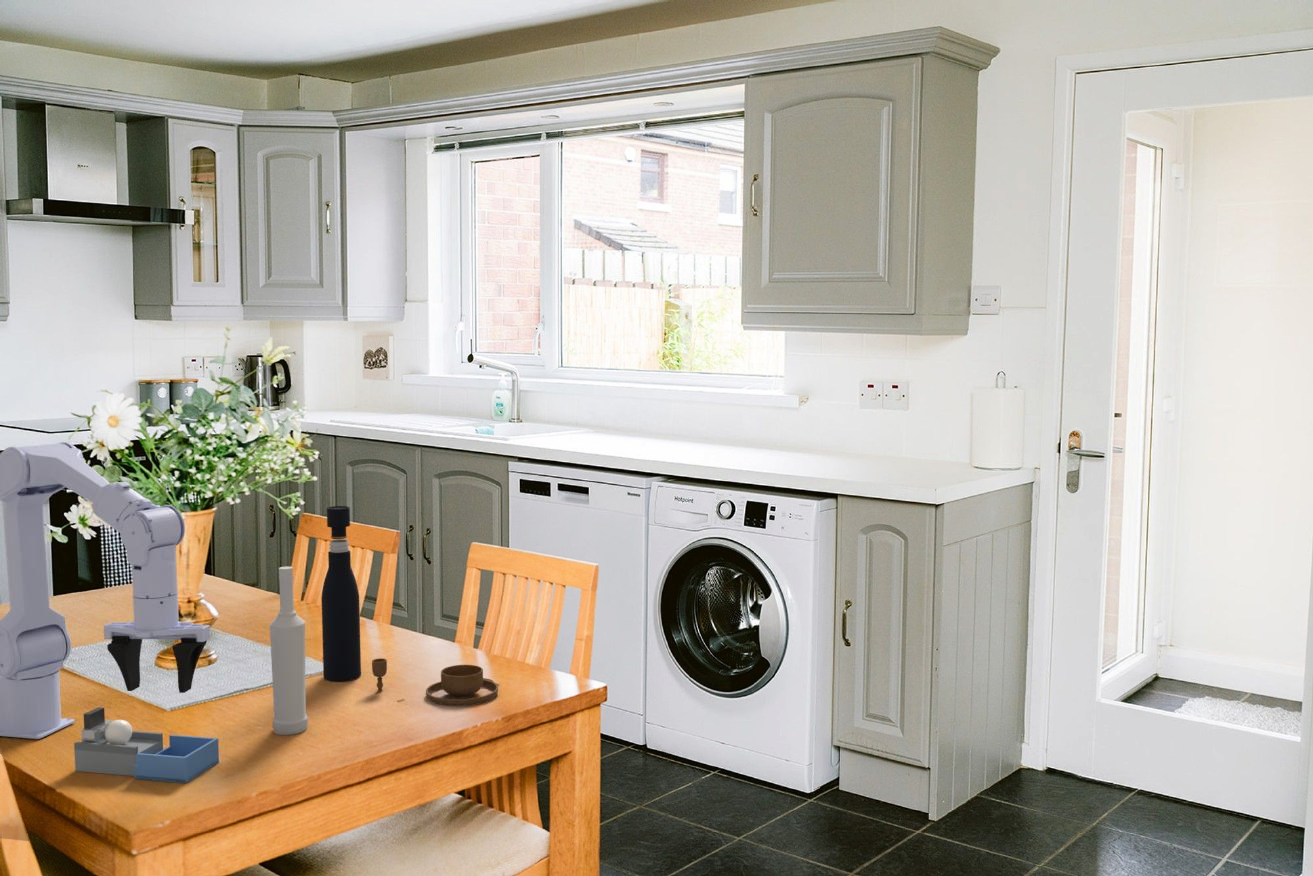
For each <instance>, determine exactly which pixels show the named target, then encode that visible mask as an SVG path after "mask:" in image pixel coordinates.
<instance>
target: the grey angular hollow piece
mask: <svg viewBox="0 0 1313 876" xmlns="http://www.w3.org/2000/svg"><path fill="white" fill-rule="evenodd" d="M113 721H114V720H112V719H110V720H109V719H106V717H105V707H102V706H101V707H96V708H93V709H91V710H89V711H87V712H84V713H83V728H81V729H80V730H81V731H80V734H81V742H89V743H101V744H102V743H104V742H106V741H107V740H106V738H105V730H106V727H107V726H108V725H109V724H110V723H111V722H113Z"/></svg>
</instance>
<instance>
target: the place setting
mask: <svg viewBox="0 0 1313 876" xmlns="http://www.w3.org/2000/svg"><path fill="white" fill-rule="evenodd" d="M371 669H372V674H373V676H374V677H376V678H377V679H376V680H377V683H376V688H377V690H376V691H377V692H379V693H382V692H384V690H383V688H384V683H383V677H384V676H386V674H387V672H388V671H387V670H388V659H386V658H381V657H380V658H374V659H371ZM499 685H500V684H499V683H496V682H495V681H494V680H492V679H490V678H485V677H484V669H483V668H482V667H481V666H478V665H474V664H456V665H455V664H454V665H450V666H447V667H444V668H443V669H441V670H440V681H438V682H435V683H433V684H430V685H429V686H427V688H426V689H425V695H426V698H427V700H429V701H430V702H432V703H434V704H437V705H442V706H448V707H449V706H450V707H461V706H462V707H463V706H464V707H465V706H473V704H474V705H479V704H483V703H486V702H489V701H492V700H493V699H494V698H496V696H497V695H498V692H499V687H500V686H499ZM484 687H485V689H488V690H490V689H491V690H490V691H491V692H490V693H488V694H485V695H481V696H477V697H474V696H475V694H476V693H477V692H479V691H480V690H481V689H482V688H484ZM440 690H443V692H445V693H447V694H448V695H449V696H450V698H445V697H444V698H443V697H439V696H435V695H433V694H434V693H436V692H437V691H440ZM492 690H493V691H492ZM492 698H493V699H492ZM404 701H405V699H404V698H402V699H399V700H397V702H398V703H400V702H404Z"/></svg>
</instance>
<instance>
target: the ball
mask: <svg viewBox="0 0 1313 876" xmlns="http://www.w3.org/2000/svg"><path fill="white" fill-rule="evenodd" d="M112 721H113V722H111V723H110V724H109V725H108V726H107V727H106V730H105V738H106V740H107V741H108V742H109V743H110V744H114V745H123V744H125V743H126V742H128V741H129V739H130V738H131V736H132V731H133V727H132V725H131V724H130V723H129V721H127V720H124V719H116V720H112Z"/></svg>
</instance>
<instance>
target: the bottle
mask: <svg viewBox="0 0 1313 876" xmlns="http://www.w3.org/2000/svg"><path fill="white" fill-rule="evenodd" d="M278 581H279V604H280V605H279V606H280V607H279V612H278V613H277V616H276V617H275V618H274V619H273V620H272V621H271V622H270V623H269V635H270V637H269V638H270V655H271V658H270V659H271V674H272V675H271V676H272V695H273V698H272V699H273V713H274V714H273V718H272V728H273V732H274V733H275V734H277V735H281V736H285V735H286V736H289V735H296V734H300V733H302V732H303V733H304V731H306V730H307V728H308V724H309V723H308V721H309V720H308V719H309V717H308V715H307V713H306V708H307V707H306V706H307V705H306V620H304V619H303V618H302V617H300V616H299V615H298V614H297V611H296V610H295V607H294V567H293V566H287V565H286V566H281V567H278Z"/></svg>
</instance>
